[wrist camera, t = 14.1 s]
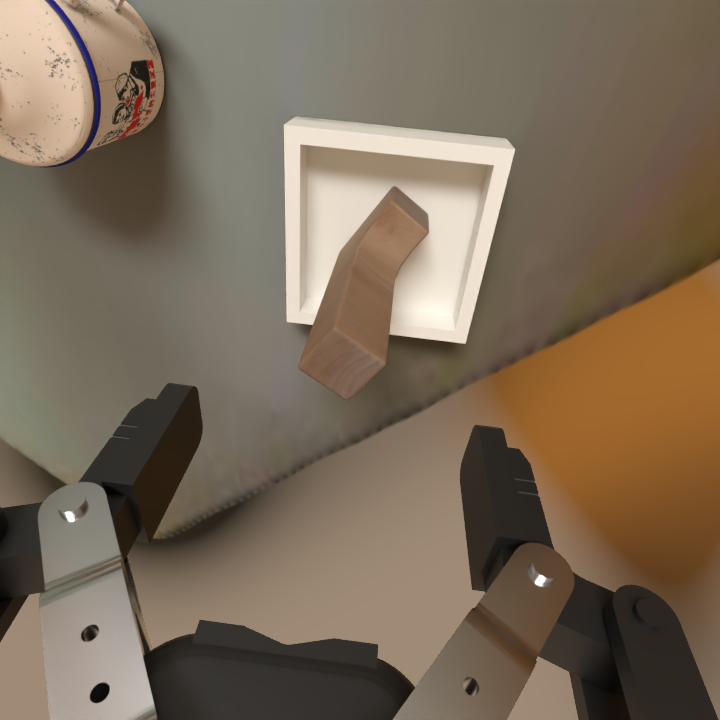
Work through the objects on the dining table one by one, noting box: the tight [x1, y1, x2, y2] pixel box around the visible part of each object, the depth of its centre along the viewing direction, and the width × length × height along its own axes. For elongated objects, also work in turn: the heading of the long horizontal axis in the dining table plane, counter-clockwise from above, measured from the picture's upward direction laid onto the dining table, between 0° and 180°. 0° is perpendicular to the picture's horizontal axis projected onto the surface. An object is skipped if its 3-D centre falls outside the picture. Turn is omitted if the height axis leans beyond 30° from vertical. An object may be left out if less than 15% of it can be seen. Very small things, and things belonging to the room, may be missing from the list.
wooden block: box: [298, 186, 429, 400], centre depth 28 cm, size 7×3×15 cm, turn 142°
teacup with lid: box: [0, 0, 164, 167], centre depth 25 cm, size 12×9×12 cm
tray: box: [284, 116, 515, 344], centre depth 34 cm, size 14×14×4 cm
